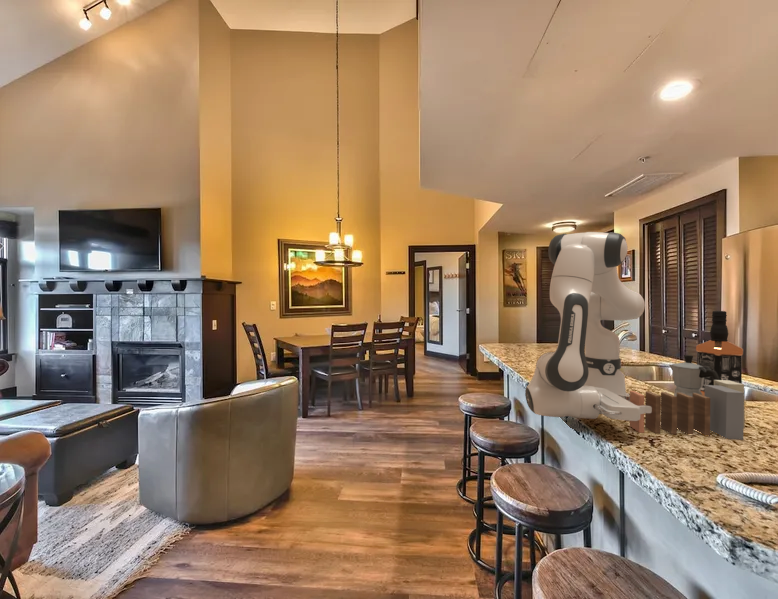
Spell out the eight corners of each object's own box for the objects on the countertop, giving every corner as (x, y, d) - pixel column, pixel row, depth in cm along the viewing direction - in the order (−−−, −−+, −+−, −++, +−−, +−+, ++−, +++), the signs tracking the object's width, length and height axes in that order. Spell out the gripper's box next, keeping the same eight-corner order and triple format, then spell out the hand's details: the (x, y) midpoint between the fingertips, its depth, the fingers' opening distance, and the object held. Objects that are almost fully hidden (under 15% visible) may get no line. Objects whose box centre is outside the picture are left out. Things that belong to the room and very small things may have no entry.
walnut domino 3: (688, 435, 99) (688, 397, 99) (676, 428, 104) (676, 392, 104) (693, 435, 99) (693, 397, 99) (681, 428, 104) (681, 392, 104)
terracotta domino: (639, 432, 101) (639, 395, 101) (629, 426, 106) (630, 390, 106) (643, 432, 101) (644, 395, 101) (634, 426, 106) (634, 391, 106)
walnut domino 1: (655, 433, 100) (655, 396, 100) (645, 427, 105) (645, 391, 105) (660, 433, 100) (660, 396, 100) (649, 427, 105) (650, 391, 105)
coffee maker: (658, 406, 126) (658, 352, 126) (677, 404, 128) (677, 351, 128) (707, 420, 111) (708, 359, 111) (728, 418, 114) (728, 358, 114)
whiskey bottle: (746, 409, 124) (747, 311, 123) (716, 408, 124) (717, 311, 124) (719, 400, 134) (720, 310, 134) (691, 400, 134) (692, 310, 134)
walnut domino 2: (671, 434, 100) (672, 396, 100) (660, 427, 105) (661, 391, 105) (676, 434, 100) (677, 396, 100) (665, 428, 105) (665, 392, 105)
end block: (704, 428, 105) (704, 385, 105) (720, 428, 104) (720, 385, 104) (726, 438, 97) (726, 392, 97) (743, 439, 96) (743, 392, 96)
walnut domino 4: (704, 435, 99) (705, 397, 99) (692, 429, 104) (692, 393, 104) (709, 436, 99) (710, 398, 99) (696, 429, 104) (697, 393, 104)
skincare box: (745, 428, 105) (746, 384, 105) (727, 427, 106) (727, 383, 106) (730, 421, 111) (730, 379, 111) (712, 419, 112) (713, 379, 112)
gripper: (603, 400, 95) (663, 403, 93) (574, 382, 115) (622, 384, 113) (603, 425, 95) (663, 428, 93) (573, 403, 115) (622, 405, 113)
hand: (640, 404), depth 103 cm, fingers open, 8 cm apart
